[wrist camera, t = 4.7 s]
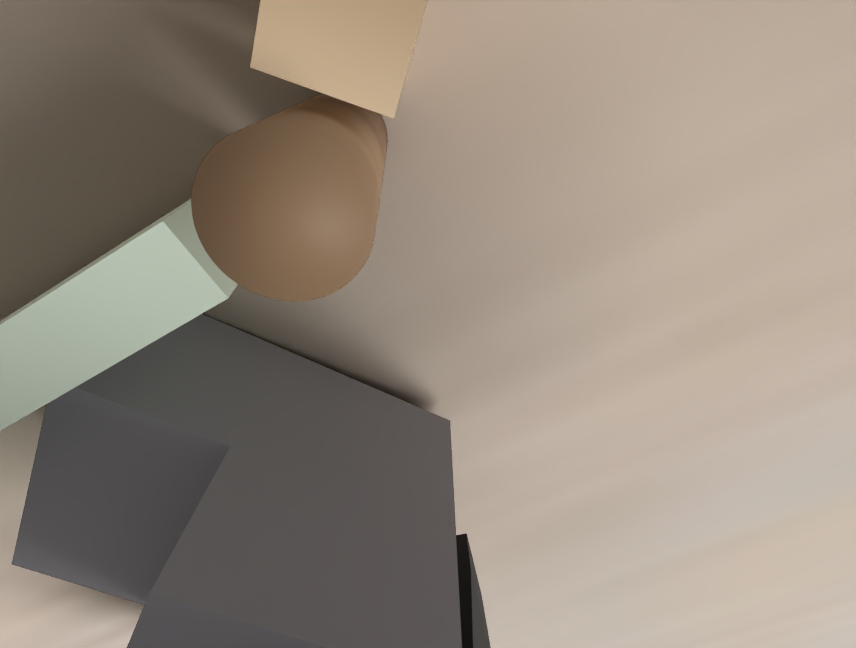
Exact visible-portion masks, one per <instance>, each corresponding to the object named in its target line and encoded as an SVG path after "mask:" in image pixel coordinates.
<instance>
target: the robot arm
mask: <svg viewBox="0 0 856 648" xmlns="http://www.w3.org/2000/svg"><path fill="white" fill-rule="evenodd" d="M456 545H457V563H458V582H459V601H460V620H461V639H462V648H490V642H489V636H488V630H487V624H486V619H485V613H484V607H483V601H482V596H481V591H480V587H479V583H478V579H477V575H476V571H475V566H474V562H473V558H472V554H471V550H470V546H469V542H468V538H467V534H461V535H456Z"/></svg>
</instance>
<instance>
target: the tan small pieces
mask: <svg viewBox="0 0 856 648" xmlns="http://www.w3.org/2000/svg"><path fill="white" fill-rule="evenodd" d="M427 1H428V0H260V7H259V13H258V19H257V26H256V32H255V39H254V45H253V51H252V58H251V64H250V68H253V69H256V70H259V71H262V72H264V73H267V74H270V75H273V76H275V77H278V78H281V79H284V80H287V81H289V82H292V83H295V84H298V85H301V86H303V87H306V88H309V89H312V90H315V91H317V92H320V93H321V94H319V95H316V96H314V97H312V98H310V99H307V100H305V101H303V102H301V103H298V104H296V105H294V106H292V107H290V108H287V109H285V110H283V111H281V112H278V113H276V114H274V115H272V116H269V117H267V118H265V119H263V120H260V121H258V122H256V123H254V124H252V125H249V126H247V127H245V128H243V129H240V130H238V131H236V132H234V133H232V134H230V135H228V136H227V137H225V138H224V139H222V140H221V141H219V142H218V143H217V144H216V145H215V146H214V147H213V148H212V149H211V150H210V151H209V153H208V154H207V155H206V156H205V158H204V159H203V161H202V163H201V165H200V166H199V168H198V170H197V173H196V176H195V179H194V183H193V188H192V195H191V208H192V217H193V222H194V226H195V229H196V232H197V235H198V237H199V240H200V242H201V244H202V246H203V247H204V249H205V251H206V252H207V254H208V255H209V257H210V258H211V260H212V261H213V262H214V263H215V264H216V266H217V267H218V268H219V269H220V270H221V271H222V272H223V273H224V274H225V275H227V276H228V277H229V278H230V279H232V280H233V281H234V282H236V283H237V284H239V285H240V286H242V287H244V288H245V289H247V290H249V291H251V292H253V293H256V294H258V295H261V296H264V297H267V298H271V299H276V300H281V301H307V300H313V299H317V298H321V297H324V296H326V295H329V294H331V293H333V292H335V291H337V290H339V289H340V288H342V287H343V286H345V285H346V284H347V283H348V282H350V281H351V280H352V279H353V278H354V277H355V276H356V275H357V274H358V272H359V271H360V270H361V268H362V267H363V265H364V264H365V262H366V260H367V258H368V256H369V254H370V251H371V248H372V245H373V241H374V236H375V229H376V222H377V215H378V208H379V201H380V194H381V186H382V179H383V172H384V165H385V158H386V151H387V142H388V139H387V130H386V126H385V122H384V120H383V118H382V116H381V114H382V115H385V116H387V117H390V118H393V119H394V116H395V113H396V110H397V106H398V103H399V99H400V96H401V92H402V89H403V85H404V82H405V78H406V75H407V71H408V68H409V64H410V61H411V57H412V54H413V50H414V47H415V43H416V40H417V36H418V33H419V29H420V26H421V22H422V19H423V15H424V12H425V8H426V5H427Z"/></svg>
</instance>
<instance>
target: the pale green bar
mask: <svg viewBox="0 0 856 648" xmlns="http://www.w3.org/2000/svg"><path fill="white" fill-rule="evenodd" d="M237 285H238V284H237V283H236V282H234V281H233V280H232V279H230V278H229V277H228V276H227V275H225V274H224V273H223V272H222V271H221V270H220V269H219V268H218V267H217V266H216V264H215V263H214V262H213V261H212V260H211V258H210V257H209V255H208V254H207V252H206V251H205V249H204V247H203V246H202V244H201V242H200V240H199V237H198V235H197V232H196V229H195V226H194V222H193V217H192V208H191V199H189V200H188V201H186V202H185V203H183V204H182V205H180V206H178V207H177V208H175V209H174V210H172V211H171V212H169V213H168V214H166V215H164V216H163V217H161V218H160V219H158V220H157V221H155V222H154V223H152V224H150V225H149V226H147V227H146V228H144V229H143V230H141V231H140V232H138V233H136V234H135V235H133V236H132V237H130V238H129V239H127V240H126V241H124V242H122V243H121V244H119V245H118V246H116V247H115V248H113V249H111V250H110V251H108V252H107V253H105V254H104V255H102V256H101V257H99V258H97V259H96V260H94V261H93V262H91V263H90V264H88V265H87V266H85V267H83V268H82V269H80V270H79V271H77V272H76V273H74V274H73V275H71V276H69V277H68V278H66V279H65V280H63V281H62V282H60V283H59V284H57V285H55V286H54V287H52V288H51V289H49V290H48V291H46V292H45V293H43V294H41V295H40V296H38V297H37V298H35V299H34V300H32V301H30V302H29V303H27V304H26V305H24V306H23V307H21V308H20V309H18V310H16V311H15V312H13V313H12V314H10V315H9V316H7V317H6V318H4V319H2V320H1V321H0V431H1V430H3V429H4V428H6V427H8V426H9V425H11V424H13V423H15V422H16V421H18V420H20V419H22V418H23V417H25V416H27V415H28V414H30V413H32V412H34V411H35V410H37V409H39V408H40V407H42V406H44V405H46V404H47V403H49V402H51V401H52V400H54V399H56V398H58V397H59V396H61V395H63V394H64V393H66V392H68V391H70V390H71V389H73V388H75V387H77V386H78V385H80V384H82V383H83V382H85V381H87V380H89V379H90V378H92V377H94V376H95V375H97V374H99V373H101V372H102V371H104V370H106V369H107V368H109V367H111V366H113V365H114V364H116V363H118V362H120V361H121V360H123V359H125V358H126V357H128V356H130V355H132V354H133V353H135V352H137V351H138V350H140V349H142V348H144V347H145V346H147V345H149V344H150V343H152V342H154V341H156V340H157V339H159V338H161V337H163V336H164V335H166V334H168V333H169V332H171V331H173V330H175V329H176V328H178V327H180V326H181V325H183V324H185V323H187V322H188V321H190V320H192V319H193V318H195V317H197V316H199V315H200V314H202V313H204V312H205V311H207V310H209V309H211V308H212V307H214V306H216V305H218V304H219V303H221V302H223V301H224V300H226V299H228V298H229V297H230V295H231V294H232V292H233V291H234V290H235V288H236V287H237Z"/></svg>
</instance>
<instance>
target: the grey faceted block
mask: <svg viewBox="0 0 856 648" xmlns="http://www.w3.org/2000/svg"><path fill="white" fill-rule="evenodd" d="M12 564H13V565H16V566H19V567H22V568H26V569H29V570H32V571H36V572H39V573H42V574H45V575H49V576H52V577H55V578H58V579H62V580H65V581H68V582H72V583H75V584H78V585H81V586H85V587H88V588H91V589H94V590H98V591H101V592H104V593H108V594H111V595H114V596H117V597H121V598H124V599H127V600H130V601H134V602H137V603H140V604H144V608H143V610H142V612H141V615H140V617H139V620H138V622H137V624H136V627H135V629H134V632H133V634H132V637H131V639H130V641H129V644H128V646H127V648H462V639H461V620H460V601H459V582H458V563H457V545H456V526H455V507H454V488H453V469H452V450H451V431H450V421H449V420H447V419H445V418H442V417H440V416H438V415H435V414H433V413H431V412H428V411H426V410H424V409H421V408H419V407H417V406H415V405H412V404H410V403H408V402H405V401H403V400H401V399H398V398H396V397H394V396H391V395H389V394H387V393H384V392H382V391H380V390H377V389H375V388H373V387H370V386H368V385H366V384H364V383H361V382H359V381H357V380H354V379H352V378H350V377H347V376H345V375H343V374H340V373H338V372H336V371H333V370H331V369H329V368H326V367H324V366H322V365H319V364H317V363H315V362H313V361H310V360H308V359H306V358H303V357H301V356H299V355H296V354H294V353H292V352H289V351H287V350H285V349H282V348H280V347H278V346H275V345H273V344H271V343H268V342H266V341H264V340H262V339H259V338H257V337H255V336H252V335H250V334H248V333H245V332H243V331H241V330H238V329H236V328H234V327H231V326H229V325H227V324H224V323H222V322H220V321H217V320H215V319H213V318H211V317H208V316H206V315H204V314H200V315H199V316H197V317H195V318H193V319H192V320H190V321H188V322H187V323H185V324H183V325H181V326H180V327H178V328H176V329H175V330H173V331H171V332H169V333H168V334H166V335H164V336H163V337H161V338H159V339H157V340H156V341H154V342H152V343H150V344H149V345H147V346H145V347H144V348H142V349H140V350H138V351H137V352H135V353H133V354H132V355H130V356H128V357H126V358H125V359H123V360H121V361H120V362H118V363H116V364H114V365H113V366H111V367H109V368H107V369H106V370H104V371H102V372H101V373H99V374H97V375H95V376H94V377H92V378H90V379H89V380H87V381H85V382H83V383H82V384H80V385H78V386H77V387H75V388H73V389H71V390H70V391H68V392H66V393H64V394H63V395H61V396H59V397H58V398H56V399H54V400H52V401H51V402H49V403H47V404H46V409H45V414H44V418H43V423H42V427H41V432H40V437H39V441H38V446H37V450H36V455H35V460H34V464H33V469H32V473H31V478H30V483H29V487H28V492H27V496H26V501H25V506H24V510H23V515H22V519H21V524H20V529H19V533H18V538H17V543H16V547H15V552H14V556H13V561H12Z"/></svg>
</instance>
